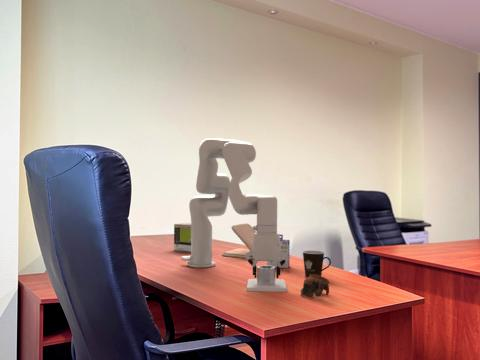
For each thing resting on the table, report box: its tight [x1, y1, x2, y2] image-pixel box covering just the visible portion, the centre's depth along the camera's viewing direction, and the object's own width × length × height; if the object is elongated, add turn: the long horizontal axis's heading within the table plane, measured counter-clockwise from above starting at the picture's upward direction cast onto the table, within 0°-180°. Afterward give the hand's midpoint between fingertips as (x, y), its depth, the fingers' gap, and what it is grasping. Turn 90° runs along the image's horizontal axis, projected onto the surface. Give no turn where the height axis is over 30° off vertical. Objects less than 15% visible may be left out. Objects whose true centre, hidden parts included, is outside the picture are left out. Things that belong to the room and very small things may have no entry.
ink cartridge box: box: [266, 233, 291, 269], centre depth 203 cm, size 10×6×14 cm, turn 78°
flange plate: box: [246, 278, 288, 293], centre depth 165 cm, size 14×14×5 cm
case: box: [221, 223, 257, 260], centre depth 233 cm, size 20×21×16 cm
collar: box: [256, 264, 276, 286], centre depth 165 cm, size 7×7×6 cm
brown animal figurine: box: [300, 274, 330, 299], centre depth 152 cm, size 12×10×8 cm
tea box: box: [173, 222, 191, 253], centre depth 247 cm, size 15×10×15 cm, turn 58°
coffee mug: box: [302, 250, 332, 278], centre depth 181 cm, size 12×9×10 cm
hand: (266, 277), depth 165 cm, fingers open, 7 cm apart
